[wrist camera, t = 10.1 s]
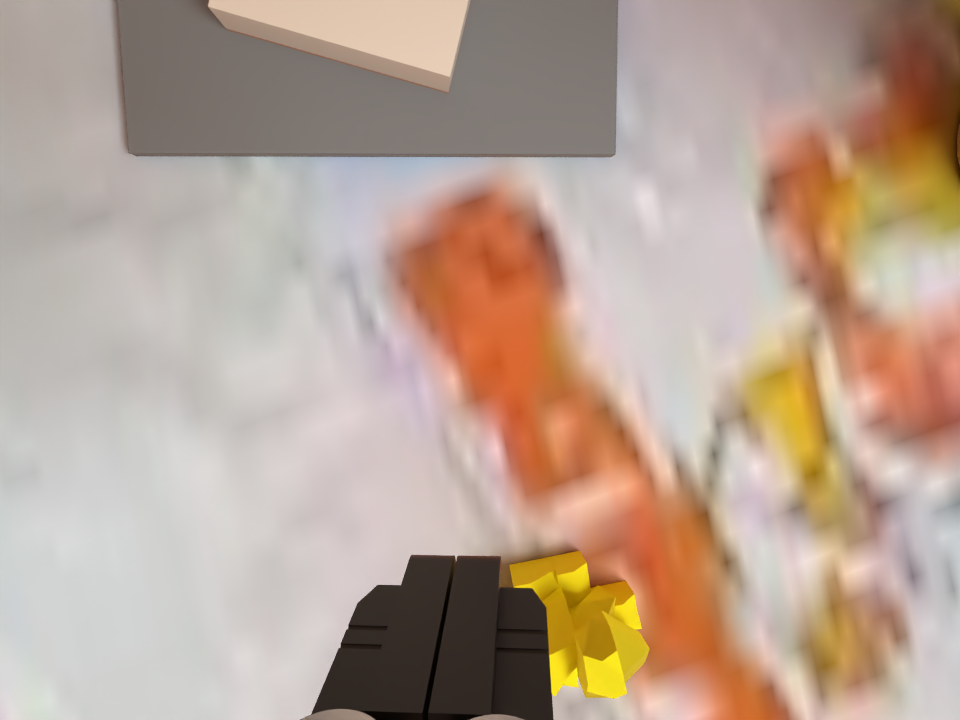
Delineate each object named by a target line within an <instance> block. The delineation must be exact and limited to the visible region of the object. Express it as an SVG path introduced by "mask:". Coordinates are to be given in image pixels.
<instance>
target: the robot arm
mask: <svg viewBox="0 0 960 720" xmlns="http://www.w3.org/2000/svg"><path fill="white" fill-rule="evenodd" d="M957 156H958V161H959V166H960V123H959V129H958V134H957ZM301 720H553V707H552V691H551V675H550V658H549V642H548V626H547V610H546V606H545V605H544V604H543V602H542V601H541V600H540V598H539V597H538V595H537V594H536V593H535V591H534V590H533V589H532V588H501V557H500V556H458V557H457V561H456V559H455V556H440V555H411V557H410V559H409V562H408V565H407V569H406V572H405V575H404V578H403V581H402V584H401V585H377V586H376V587H375V588H374V589H373V590H372V591H371V592H370V593H368V594H367V595H366V596H365V597H364V598H363V599H362V600H361V601H360V602H358V604H357V606H356V608H355V611H354V613H353V616H352V618H351V620H350V623H349V627H348V629H347V630H346V632H345V635H344V637H343V640H342V642H341V648H339V649H338V652H337V654H336V656H335V659H334V661H333V664H332V666H331V668H330V671H329V673H328V676H327V678H326V680H325V683H324V685H323V687H322V690H321V692H320V695H319V697H318V699H317V702H316V704H315V707H314V709H313V711H312V714H311V715H309V716H307V717H305V718H303V719H301Z"/></svg>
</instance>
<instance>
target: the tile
mask: <svg viewBox="0 0 960 720" xmlns="http://www.w3.org/2000/svg"><path fill="white" fill-rule="evenodd" d="M470 2H471V0H209V4H208V7H209V8H210V10H211V11H212V12H213V13H214V15H215V16H216V17H217V18H218V19H219V21H220V22H221V23H222V24H223V26H224V27H225V28H226V29H227V30H229V31H233V32H236V33H240V34H243V35H247V36H250V37H254V38H257V39H261V40H264V41H267V42H271V43H274V44H278V45H281V46H285V47H288V48H292V49H295V50H299V51H302V52H306V53H309V54H313V55H316V56H320V57H323V58H327V59H330V60H334V61H337V62H340V63H344V64H347V65H351V66H354V67H358V68H361V69H365V70H368V71H372V72H375V73H379V74H382V75H386V76H389V77H393V78H396V79H400V80H403V81H407V82H410V83H413V84H417V85H420V86H424V87H427V88H431V89H434V90H438V91H441V92H445V93H449V89H450V85H451V80H452V76H453V72H454V68H455V64H456V60H457V56H458V51H459V47H460V43H461V39H462V35H463V31H464V26H465V22H466V18H467V14H468V10H469V6H470Z"/></svg>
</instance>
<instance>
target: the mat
mask: <svg viewBox="0 0 960 720" xmlns="http://www.w3.org/2000/svg"><path fill="white" fill-rule="evenodd" d="M208 4H209V0H117V7H118V20H119V33H120V46H121V59H122V72H123V85H124V99H125V112H126V125H127V138H128V151H129V153H130V154H133V155H135V156H307V157H612V156H613V155H615V154H616V87H617V18H618V0H471V2H470V6H469V10H468V14H467V18H466V22H465V26H464V31H463V35H462V39H461V43H460V47H459V51H458V56H457V60H456V64H455V68H454V72H453V76H452V80H451V85H450V89H449V93H445V92H441V91H438V90H434V89H431V88H427V87H424V86H420V85H417V84H413V83H410V82H407V81H403V80H400V79H396V78H393V77H389V76H386V75H382V74H379V73H375V72H372V71H368V70H365V69H361V68H358V67H354V66H351V65H347V64H344V63H340V62H337V61H334V60H330V59H327V58H323V57H320V56H316V55H313V54H309V53H306V52H302V51H299V50H295V49H292V48H288V47H285V46H281V45H278V44H274V43H271V42H267V41H264V40H261V39H257V38H254V37H250V36H247V35H243V34H240V33H236V32H233V31H229V30H227V29H226V28H225V27H224V26H223V24H222V23H221V22H220V21H219V19H218V18H217V17H216V16H215V15H214V13H213V12H212V11H211V10H210V8H209V7H208Z"/></svg>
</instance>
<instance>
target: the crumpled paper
mask: <svg viewBox="0 0 960 720" xmlns="http://www.w3.org/2000/svg"><path fill="white" fill-rule="evenodd" d="M509 567H510V572H511V578H512V583H513V588H532V589H533V590H534V591H535V593H536V594H537V595H538V597H539V598H540V600H541V601H542V602H543V604H544V605H545V606H546V610H547V626H548V642H549V658H550V675H551V691H552V695H553V696H556V694H557V693H558V691H559V690H560V688H561V687H562V686H563V685H566V686H572V687H578V688H579V686H578V680H577V676H578V678H579V681H580V684H581V687H582V689H583V692H584V695H585V697H586V698H607V697H609V698H613V699H615V698H617V697H620V696H622V695H625V694H627V691H626V686H625V683H626V682H627V681H628V679H629V678H630V677H631V676H632V675H633V674H634V673H635V672H636V671H637V670H638V669H639V668H640V667H641V666H642V665H643V664H644V663H645V660H646V658H647V655H648V652H649V650H650V649H649V647H648V646H647V644H646V642H645V641H644V639H643V637H642V635H641V634H640V632H638V631H636V629H641V628H642V627H641V623H640V620H639V616H638V612H637V608H636V602H635V595H634V593H633V591H632V590H631V588H630V586H629V585H628V583H627V582H626V581H621V582H616V583H611V584H607V585H602V586H598V585H597V586H596V587H592V588H591V587H590V581H589V575H588V569H587V563H586V561H585V559H584V557H583V556H582V554H581V552H580V551H575V552H570V553H565V554H560V555H556V556H551V557H546V558H541V559H536V560H531V561H526V562H521V563H516V564H511V565H509Z"/></svg>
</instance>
